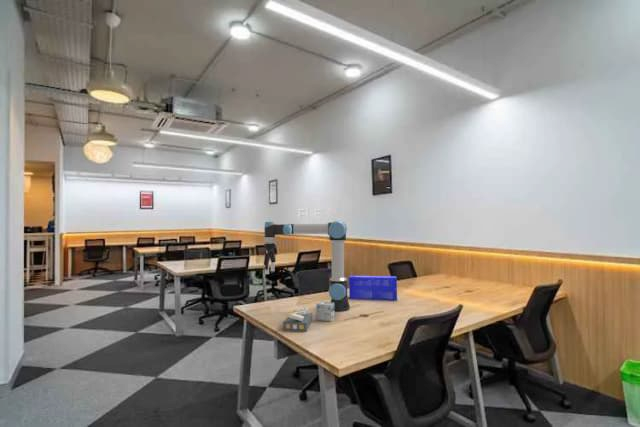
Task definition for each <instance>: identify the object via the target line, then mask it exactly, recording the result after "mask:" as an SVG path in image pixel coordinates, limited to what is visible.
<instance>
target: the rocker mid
mask: <svg viewBox="0 0 640 427" xmlns="http://www.w3.org/2000/svg"><path fill="white" fill-rule="evenodd" d="M292 313H294V314H298V315H305V314H306V313H307V312H306V310H303V311H298V312H293V311H292Z"/></svg>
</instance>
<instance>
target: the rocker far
mask: <svg viewBox="0 0 640 427" xmlns="http://www.w3.org/2000/svg"><path fill="white" fill-rule="evenodd" d="M303 310H306V313H307V312H308V310H309V308H308V306H306V307H303V308H302V307H301V308H298V309H297V308H296V309H294V310H293V311H292V313H293V312H298V311H303Z"/></svg>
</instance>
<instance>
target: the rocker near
mask: <svg viewBox="0 0 640 427" xmlns="http://www.w3.org/2000/svg"><path fill="white" fill-rule="evenodd" d="M287 317H289V318H293V319H296V320H299V321H303V319H304V316H301V315H298V314H294V313H293V312H289V313H288V315H287Z"/></svg>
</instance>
